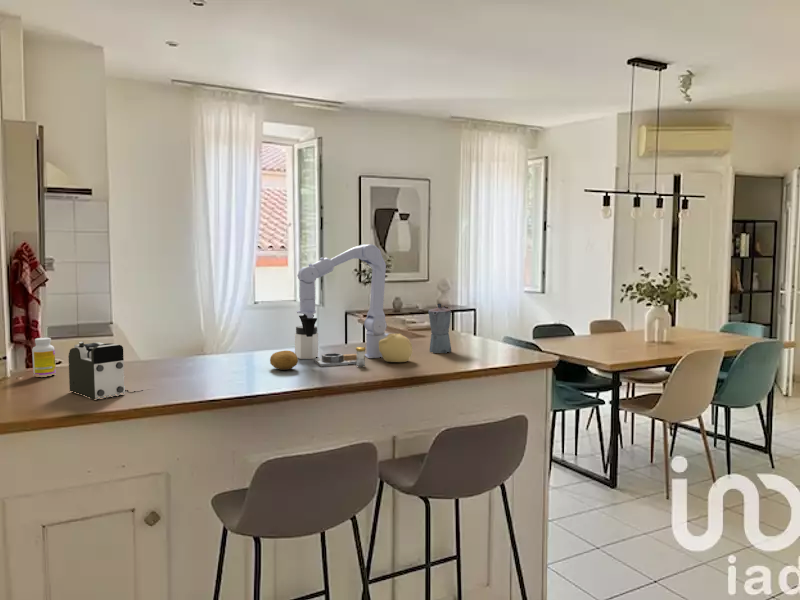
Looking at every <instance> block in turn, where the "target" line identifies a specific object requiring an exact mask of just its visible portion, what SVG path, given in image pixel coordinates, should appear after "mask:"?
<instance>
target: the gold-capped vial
mask: <svg viewBox="0 0 800 600" xmlns="http://www.w3.org/2000/svg"><path fill="white" fill-rule="evenodd" d="M355 351H356V354H357V364H356V367H357V366H358V368H364V367H363V366H365V367H366V356H365V354H366V352H365V351H366V346H365V347H364V346H356V348H355Z"/></svg>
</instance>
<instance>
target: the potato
mask: <svg viewBox="0 0 800 600" xmlns="http://www.w3.org/2000/svg"><path fill="white" fill-rule="evenodd" d="M298 359H299V358H297V356H296V354H295V351H291V350H280V351H276V352H274V353H272V355H270V358H269V362H270V363H269V364H270V365H271V366H272V367H274V368H275V369H278V370H280V371H286V370H292V369H293V368H294V367H296V366H297V365H298V363H299V360H298Z"/></svg>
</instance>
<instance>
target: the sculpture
mask: <svg viewBox="0 0 800 600" xmlns="http://www.w3.org/2000/svg"><path fill="white" fill-rule="evenodd" d="M388 334H389V335H387V337H385V338H384V339H381V340H380V341H379V351H380V352H381V354H382V356H383V357H382V358H383V360H384V361H385V362H387V363H405V362H408V361H409V360H410V358H411V357H412V355H413V345H412V343H411V341H410V340H409V338H408V337H406V336H405V335H402V333H397V332H395V333H388Z"/></svg>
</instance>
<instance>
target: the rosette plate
mask: <svg viewBox="0 0 800 600" xmlns="http://www.w3.org/2000/svg"><path fill="white" fill-rule="evenodd" d="M312 360H313V362H314V363H315V364H316V363H317V365H318V366H319V367H320V368H323V367H322V366H325V367H336V366H335V365H340V366H349V365H348V364H354V365H357V353H350V354H343V353H339V352H337V353H336V352H327V353H323V354H321V357H317V358H313V359H312Z"/></svg>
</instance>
